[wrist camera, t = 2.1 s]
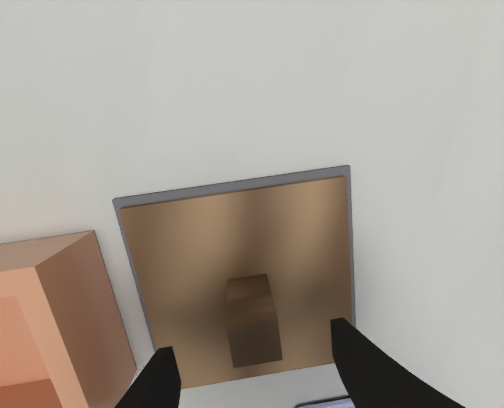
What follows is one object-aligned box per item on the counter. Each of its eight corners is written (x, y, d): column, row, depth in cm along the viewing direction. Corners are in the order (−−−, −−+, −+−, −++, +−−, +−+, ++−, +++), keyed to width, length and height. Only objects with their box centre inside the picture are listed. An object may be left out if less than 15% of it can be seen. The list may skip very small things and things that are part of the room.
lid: (342, 175, 15) (390, 188, 10) (350, 352, 18) (389, 422, 13) (123, 206, 14) (71, 235, 10) (170, 383, 17) (148, 466, 13)
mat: (347, 165, 15) (350, 165, 14) (354, 352, 18) (356, 356, 18) (115, 198, 14) (112, 199, 14) (166, 384, 18) (165, 389, 17)
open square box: (93, 230, 15) (34, 266, 10) (136, 369, 17) (103, 445, 13) (-87, 257, 14) (-228, 306, 10) (-16, 394, 17) (-104, 481, 12)
